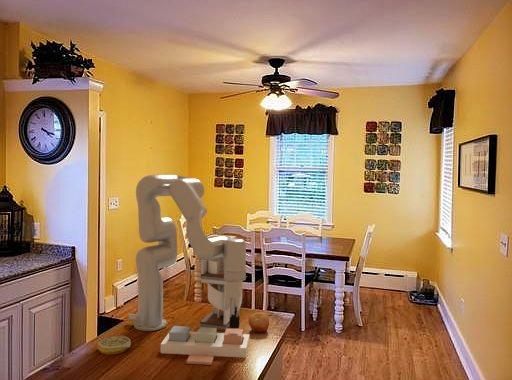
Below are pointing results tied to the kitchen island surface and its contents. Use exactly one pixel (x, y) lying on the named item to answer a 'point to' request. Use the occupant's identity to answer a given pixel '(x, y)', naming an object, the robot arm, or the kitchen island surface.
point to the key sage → (206, 335)
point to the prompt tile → (200, 359)
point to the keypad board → (206, 347)
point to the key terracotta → (233, 336)
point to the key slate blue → (179, 333)
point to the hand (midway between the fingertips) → (234, 327)
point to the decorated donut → (114, 344)
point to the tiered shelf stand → (215, 292)
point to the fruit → (259, 322)
